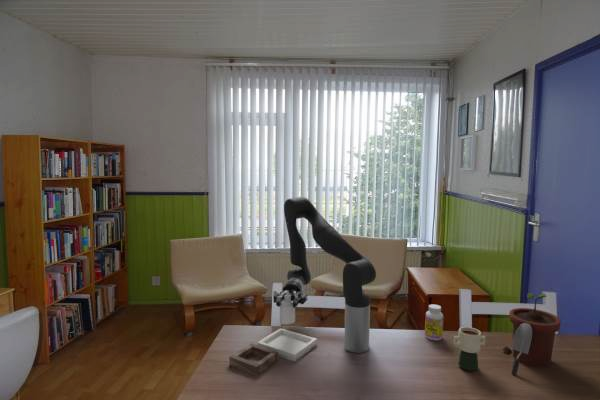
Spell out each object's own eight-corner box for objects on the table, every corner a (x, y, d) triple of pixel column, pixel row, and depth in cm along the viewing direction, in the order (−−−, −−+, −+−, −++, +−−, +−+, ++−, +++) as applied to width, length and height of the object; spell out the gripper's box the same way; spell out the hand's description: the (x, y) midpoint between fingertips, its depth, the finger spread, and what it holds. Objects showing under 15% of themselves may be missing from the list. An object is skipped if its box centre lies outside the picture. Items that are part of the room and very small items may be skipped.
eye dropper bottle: (294, 325, 148) (294, 294, 146) (279, 324, 148) (279, 293, 147) (295, 320, 152) (295, 290, 151) (280, 319, 153) (281, 289, 151)
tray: (280, 334, 162) (280, 328, 161) (316, 344, 152) (316, 338, 152) (257, 348, 149) (257, 342, 149) (295, 361, 140) (295, 354, 140)
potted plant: (572, 371, 134) (578, 300, 132) (513, 375, 132) (518, 302, 129) (535, 347, 152) (540, 283, 149) (482, 350, 149) (486, 285, 146)
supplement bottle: (421, 337, 160) (422, 306, 158) (430, 332, 164) (431, 302, 163) (437, 342, 155) (438, 310, 154) (445, 337, 159) (446, 306, 158)
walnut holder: (251, 351, 147) (251, 343, 147) (278, 360, 141) (278, 352, 140) (229, 365, 137) (229, 356, 137) (256, 375, 131) (256, 366, 130)
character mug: (479, 362, 140) (480, 326, 139) (488, 372, 133) (490, 335, 132) (448, 362, 140) (449, 326, 139) (456, 373, 133) (458, 335, 132)
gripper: (276, 279, 164) (267, 293, 147) (310, 281, 162) (305, 296, 145) (275, 296, 165) (266, 313, 148) (310, 299, 163) (305, 315, 146)
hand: (286, 304), depth 146 cm, fingers closed on eye dropper bottle, 5 cm apart
